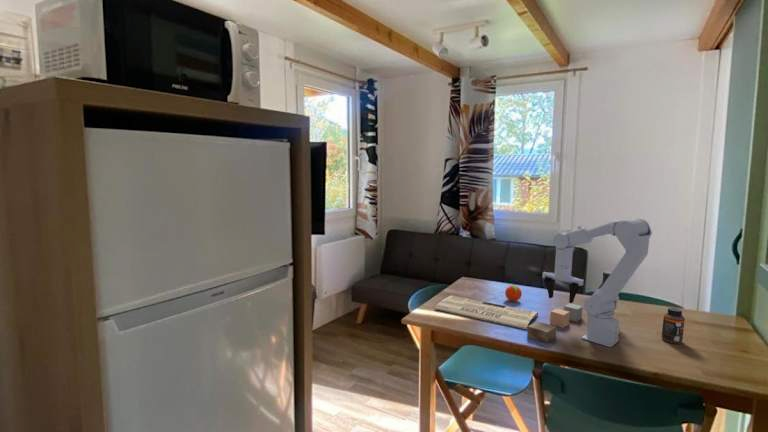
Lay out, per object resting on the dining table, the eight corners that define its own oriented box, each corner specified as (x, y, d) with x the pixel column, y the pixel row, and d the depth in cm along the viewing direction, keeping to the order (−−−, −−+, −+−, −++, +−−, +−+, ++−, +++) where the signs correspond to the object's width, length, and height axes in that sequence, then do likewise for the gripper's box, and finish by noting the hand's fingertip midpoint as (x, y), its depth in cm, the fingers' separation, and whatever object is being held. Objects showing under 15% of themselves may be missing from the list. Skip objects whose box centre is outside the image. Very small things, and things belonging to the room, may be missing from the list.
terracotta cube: (568, 324, 158) (569, 311, 157) (563, 328, 154) (564, 315, 154) (555, 320, 161) (556, 308, 161) (549, 324, 158) (550, 311, 157)
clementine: (524, 304, 179) (525, 288, 178) (508, 304, 179) (508, 288, 178) (518, 298, 187) (519, 283, 186) (502, 298, 187) (503, 282, 186)
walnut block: (555, 337, 145) (556, 326, 145) (546, 343, 140) (547, 332, 140) (536, 331, 150) (537, 321, 150) (527, 337, 145) (527, 326, 145)
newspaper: (537, 317, 166) (538, 310, 166) (525, 333, 150) (525, 325, 150) (452, 299, 186) (452, 293, 186) (433, 312, 170) (433, 305, 170)
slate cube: (581, 318, 164) (582, 306, 163) (576, 321, 161) (577, 309, 160) (568, 315, 168) (569, 303, 167) (563, 318, 164) (564, 306, 164)
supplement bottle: (682, 345, 140) (686, 313, 139) (661, 341, 143) (664, 310, 142) (681, 339, 145) (685, 308, 144) (661, 335, 148) (664, 305, 147)
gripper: (587, 266, 153) (585, 302, 154) (549, 259, 163) (546, 293, 165) (580, 269, 148) (577, 306, 149) (540, 262, 158) (538, 297, 160)
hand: (560, 300), depth 157 cm, fingers open, 7 cm apart
